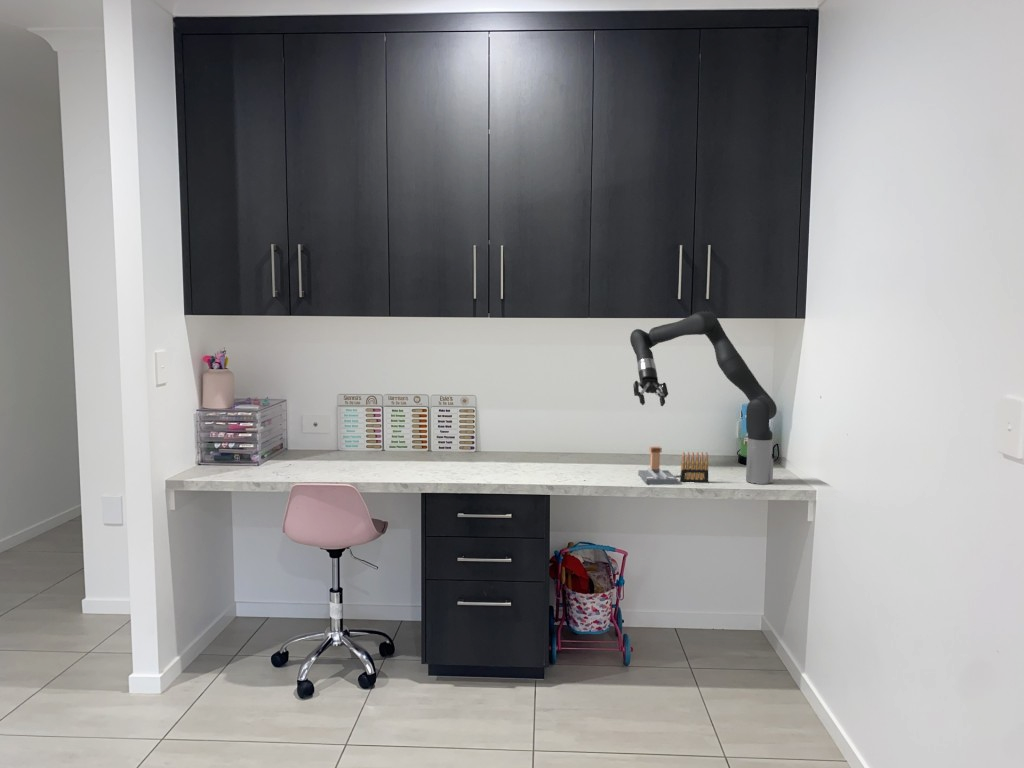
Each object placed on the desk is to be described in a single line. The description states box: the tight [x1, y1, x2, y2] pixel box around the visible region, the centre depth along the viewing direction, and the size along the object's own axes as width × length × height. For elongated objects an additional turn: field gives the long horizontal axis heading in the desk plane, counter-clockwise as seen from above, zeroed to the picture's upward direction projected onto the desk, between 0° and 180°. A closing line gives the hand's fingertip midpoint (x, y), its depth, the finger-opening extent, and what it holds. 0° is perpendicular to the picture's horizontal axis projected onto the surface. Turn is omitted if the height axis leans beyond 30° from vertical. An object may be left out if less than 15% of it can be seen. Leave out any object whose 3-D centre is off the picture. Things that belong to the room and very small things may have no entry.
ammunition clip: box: [679, 451, 709, 484], centre depth 311 cm, size 11×2×12 cm, turn 86°
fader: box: [648, 446, 663, 472], centre depth 319 cm, size 4×3×10 cm
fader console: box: [638, 467, 679, 485], centre depth 315 cm, size 12×16×3 cm
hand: (653, 404), depth 329 cm, fingers open, 8 cm apart
